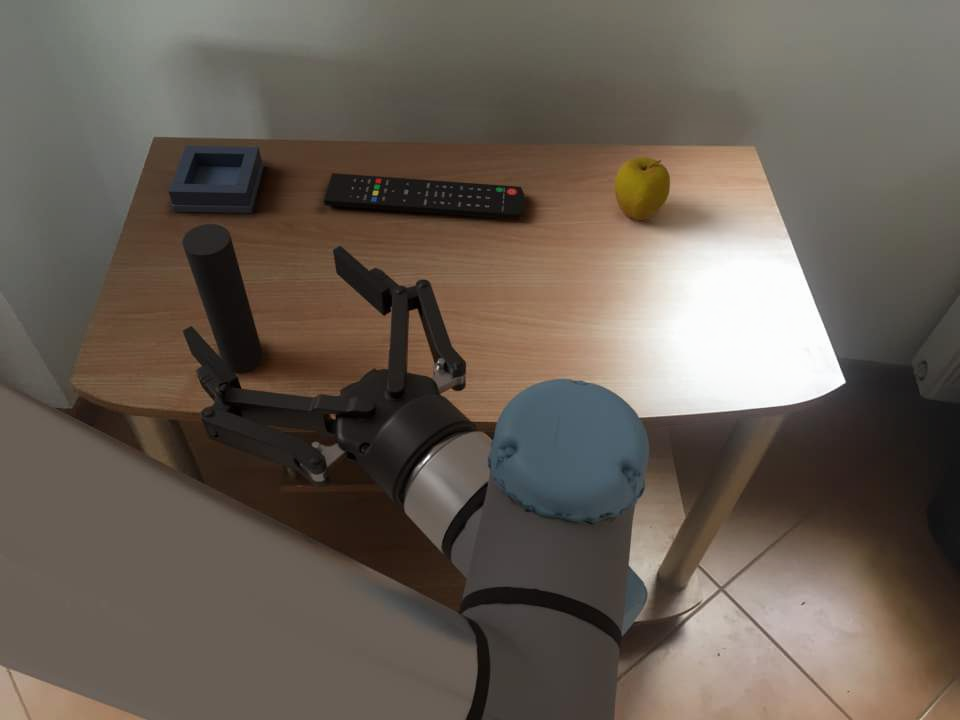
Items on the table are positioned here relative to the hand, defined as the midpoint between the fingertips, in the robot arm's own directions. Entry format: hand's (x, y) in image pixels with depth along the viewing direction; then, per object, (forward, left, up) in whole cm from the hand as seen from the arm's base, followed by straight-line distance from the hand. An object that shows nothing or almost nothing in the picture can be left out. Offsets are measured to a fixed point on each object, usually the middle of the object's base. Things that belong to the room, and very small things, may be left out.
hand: (268, 297), depth 63 cm
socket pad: (-6, +37, -16) cm, 40 cm away
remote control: (+19, +29, -17) cm, 38 cm away
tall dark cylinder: (-5, +9, -16) cm, 19 cm away
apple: (+43, +22, -17) cm, 51 cm away
